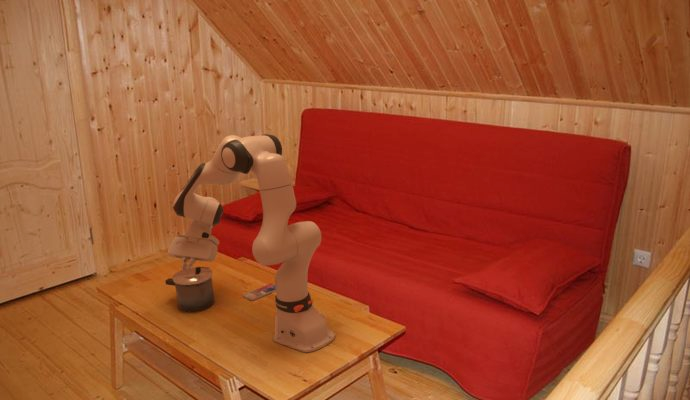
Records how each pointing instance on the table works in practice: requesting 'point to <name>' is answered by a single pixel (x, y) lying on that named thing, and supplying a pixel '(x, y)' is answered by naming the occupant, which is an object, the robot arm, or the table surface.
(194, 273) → the lid
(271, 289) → the smartphone
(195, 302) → the cooker pot
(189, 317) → the table surface
